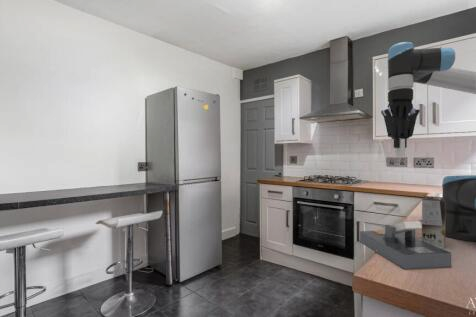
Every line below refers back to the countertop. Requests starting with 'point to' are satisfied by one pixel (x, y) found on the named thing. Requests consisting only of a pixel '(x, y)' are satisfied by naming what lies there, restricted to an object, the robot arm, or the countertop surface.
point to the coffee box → (433, 220)
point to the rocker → (404, 227)
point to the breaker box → (405, 249)
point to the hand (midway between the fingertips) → (400, 157)
